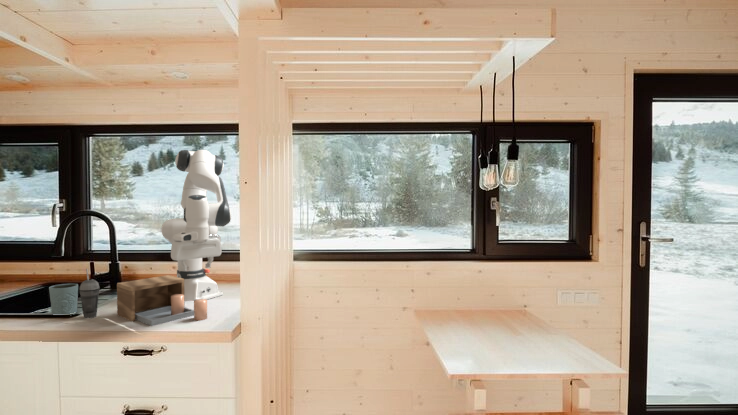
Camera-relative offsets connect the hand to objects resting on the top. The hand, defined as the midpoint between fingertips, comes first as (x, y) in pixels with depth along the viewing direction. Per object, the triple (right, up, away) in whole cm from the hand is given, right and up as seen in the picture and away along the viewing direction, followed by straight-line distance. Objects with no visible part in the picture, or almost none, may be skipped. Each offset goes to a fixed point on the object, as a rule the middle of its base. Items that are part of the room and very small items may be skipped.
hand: (197, 269), depth 173 cm
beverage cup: (-46, -20, +4) cm, 50 cm away
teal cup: (-59, -20, +7) cm, 63 cm away
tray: (-14, -21, +3) cm, 25 cm away
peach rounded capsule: (+1, -21, +1) cm, 21 cm away
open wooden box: (-23, -20, +9) cm, 32 cm away
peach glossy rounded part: (-11, -20, +6) cm, 23 cm away
